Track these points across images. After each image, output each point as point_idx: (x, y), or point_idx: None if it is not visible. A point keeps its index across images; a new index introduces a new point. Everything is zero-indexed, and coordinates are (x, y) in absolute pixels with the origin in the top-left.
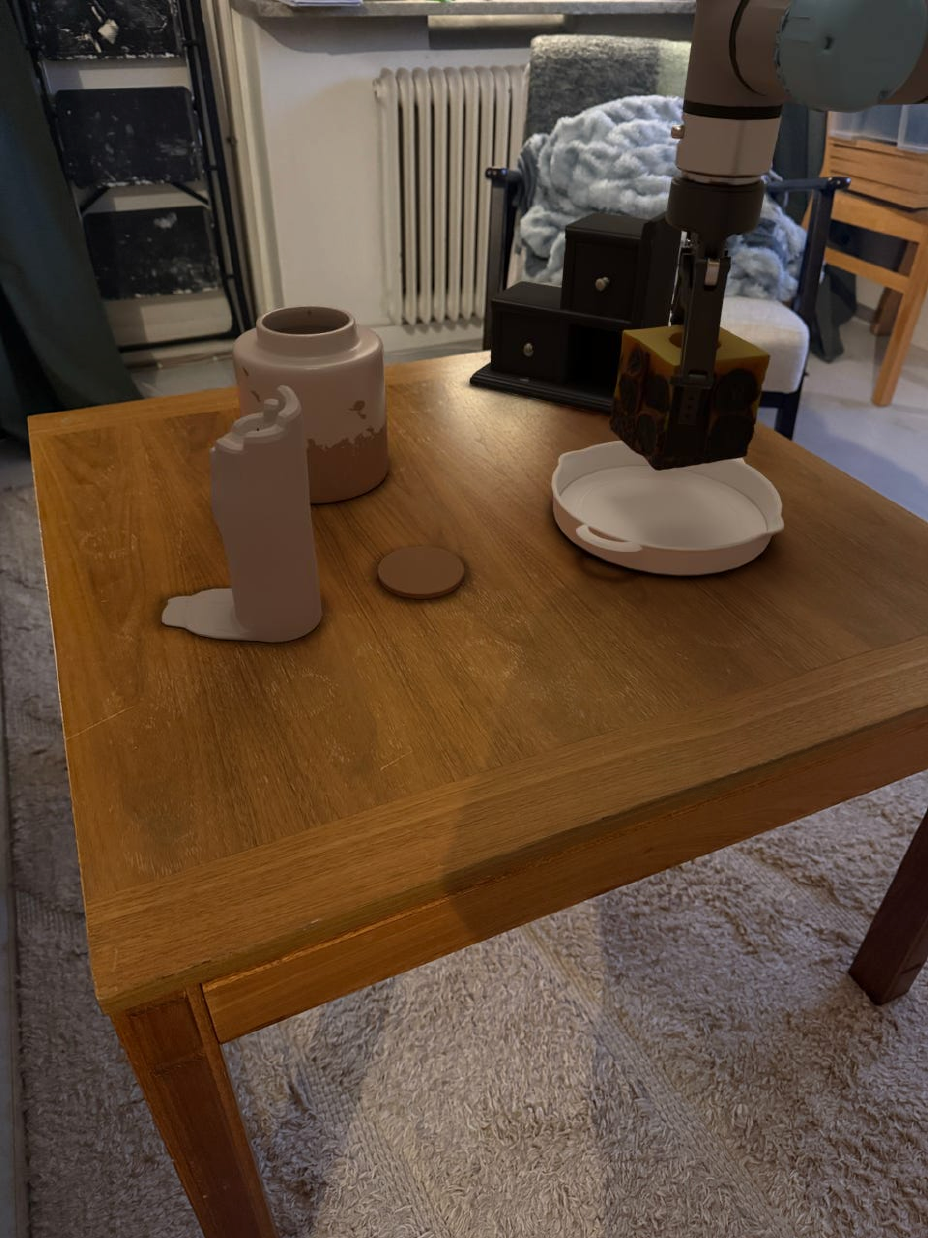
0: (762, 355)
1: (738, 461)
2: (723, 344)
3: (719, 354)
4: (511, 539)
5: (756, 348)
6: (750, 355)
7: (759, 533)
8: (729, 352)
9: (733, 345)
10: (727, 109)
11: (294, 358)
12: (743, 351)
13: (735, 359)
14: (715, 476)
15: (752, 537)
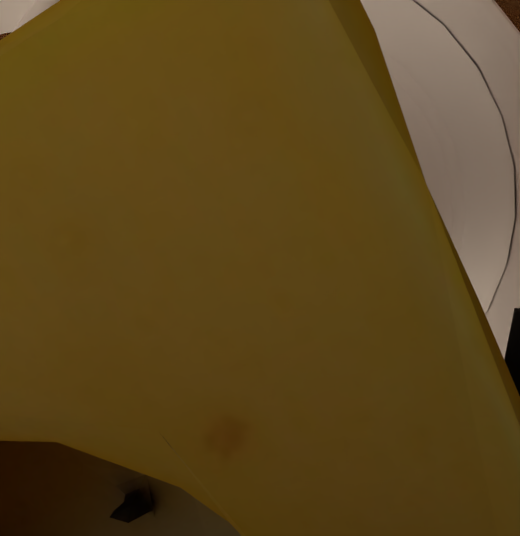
0: (348, 10)
1: (32, 16)
2: (29, 424)
3: (391, 526)
4: None
5: (81, 68)
6: (394, 198)
7: (485, 3)
8: (304, 421)
9: (50, 342)
10: None
11: None
12: (233, 260)
13: (515, 387)
14: None
15: (509, 29)
